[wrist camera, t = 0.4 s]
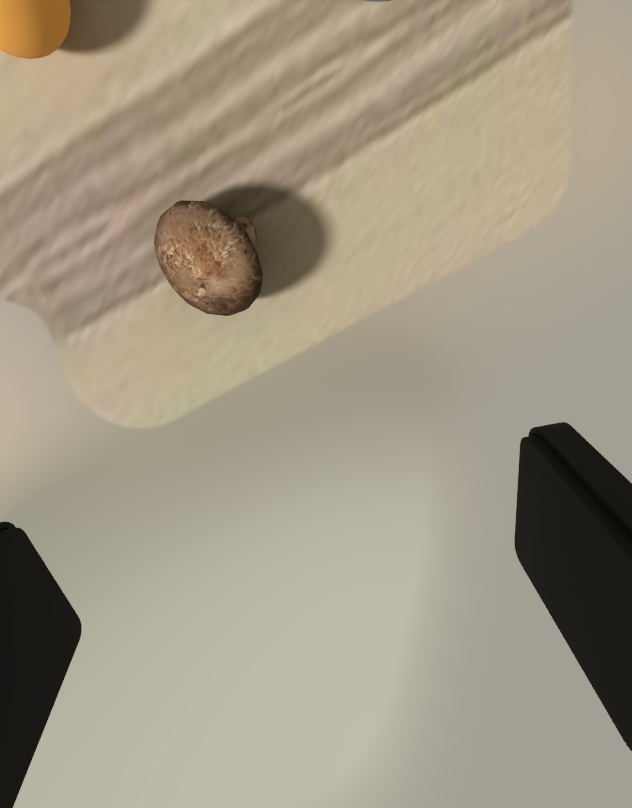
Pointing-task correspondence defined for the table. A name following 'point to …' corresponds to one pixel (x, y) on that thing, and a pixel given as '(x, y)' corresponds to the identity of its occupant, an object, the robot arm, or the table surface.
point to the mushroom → (209, 257)
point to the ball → (33, 26)
